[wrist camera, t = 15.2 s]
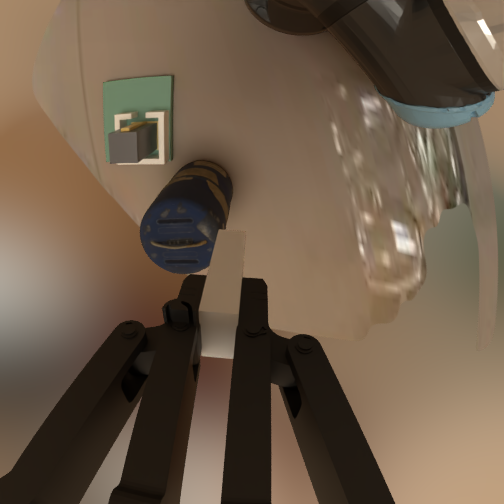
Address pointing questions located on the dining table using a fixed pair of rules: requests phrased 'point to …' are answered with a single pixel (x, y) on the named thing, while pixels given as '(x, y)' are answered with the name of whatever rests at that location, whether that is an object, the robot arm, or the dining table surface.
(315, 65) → the dining table surface
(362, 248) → the dining table surface
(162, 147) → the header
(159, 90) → the board
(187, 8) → the dining table surface
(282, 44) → the dining table surface
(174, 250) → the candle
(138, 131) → the plug
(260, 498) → the robot arm
